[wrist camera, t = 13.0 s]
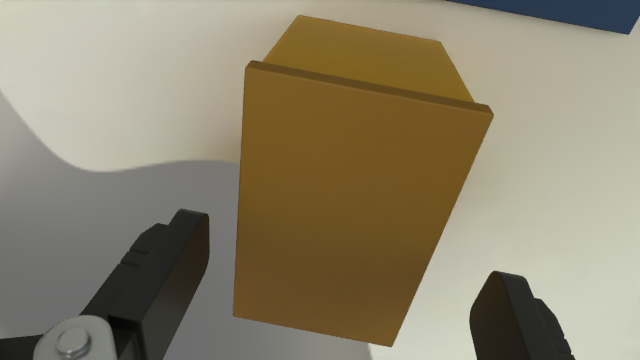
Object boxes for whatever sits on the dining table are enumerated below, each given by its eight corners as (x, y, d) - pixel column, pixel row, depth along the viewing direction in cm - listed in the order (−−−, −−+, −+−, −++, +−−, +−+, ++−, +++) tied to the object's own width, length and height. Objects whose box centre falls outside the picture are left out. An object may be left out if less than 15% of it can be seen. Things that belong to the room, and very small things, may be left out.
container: (446, 38, 15) (495, 114, 9) (386, 223, 20) (392, 347, 14) (294, 9, 15) (244, 66, 9) (272, 201, 20) (232, 317, 14)
